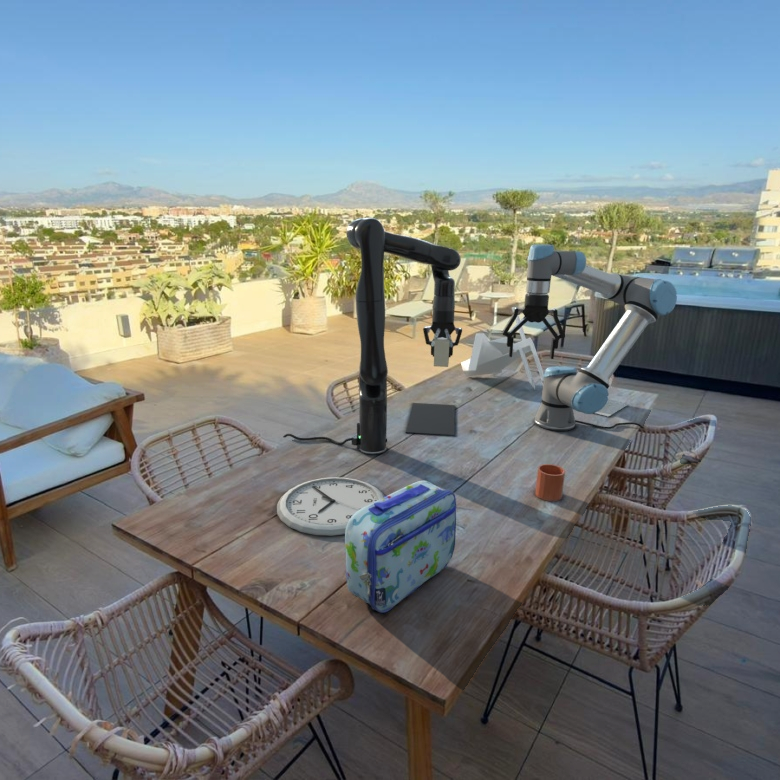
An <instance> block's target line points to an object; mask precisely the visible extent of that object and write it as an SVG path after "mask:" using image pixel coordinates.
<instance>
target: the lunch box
mask: <svg viewBox="0 0 780 780" xmlns="http://www.w3.org/2000/svg"><path fill="white" fill-rule="evenodd" d="M456 531H457V499H456V495H455V493H454V492H453V490H450V489H442V488H440V487H439V486H437V485H435V484H433V483H432V482H430V481H428V480H418V481H416V482H413V483H410V484H409V485H406V486H405V487H402V488H400V489H398V490H396V491H394V492H392V493H390V494H388V495H385V497H384V498H382V499H380V500H378V501H376V502H374V503H372V504H370V505H368V506H366V507H364V508H362V509H360V510H358V511H357V512H355V513H354V514H353V515H352V517H351V518H350V520H349V522H348V524H347V527H346V531H345V534H344V552H345V577H346V578H345V580H346V586H347V589H348V592H349V593H350V594H352V595H354V596H356V597H357V598H359V599H361V600H363V602H365V603H367V604H368V605H370V607H371V608H372V609H373V610H375V611H376V612H378V613H380V614H382V613H383V614H385V613H387V612H389V611H391V609H393V608H394V607H395V606H396V605H397V604H400V602H401V601H402V600H404V599H406V597H409V596H410V595H411V594H412V593H414V592H415V591H416V590H417V589H418V588H420V587H421V586H422V585H423V584H424V583H425V582H427V581H428V580H430V579H432V578H433V577H434V576H436V575H437V574H439V573H441V572H442V571H443V570H445V568H446V567H447V566H448V564H449V563H450V561H451V560H452V557H453V554H454V551H455V548H456V547H455V546H456Z"/></svg>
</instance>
